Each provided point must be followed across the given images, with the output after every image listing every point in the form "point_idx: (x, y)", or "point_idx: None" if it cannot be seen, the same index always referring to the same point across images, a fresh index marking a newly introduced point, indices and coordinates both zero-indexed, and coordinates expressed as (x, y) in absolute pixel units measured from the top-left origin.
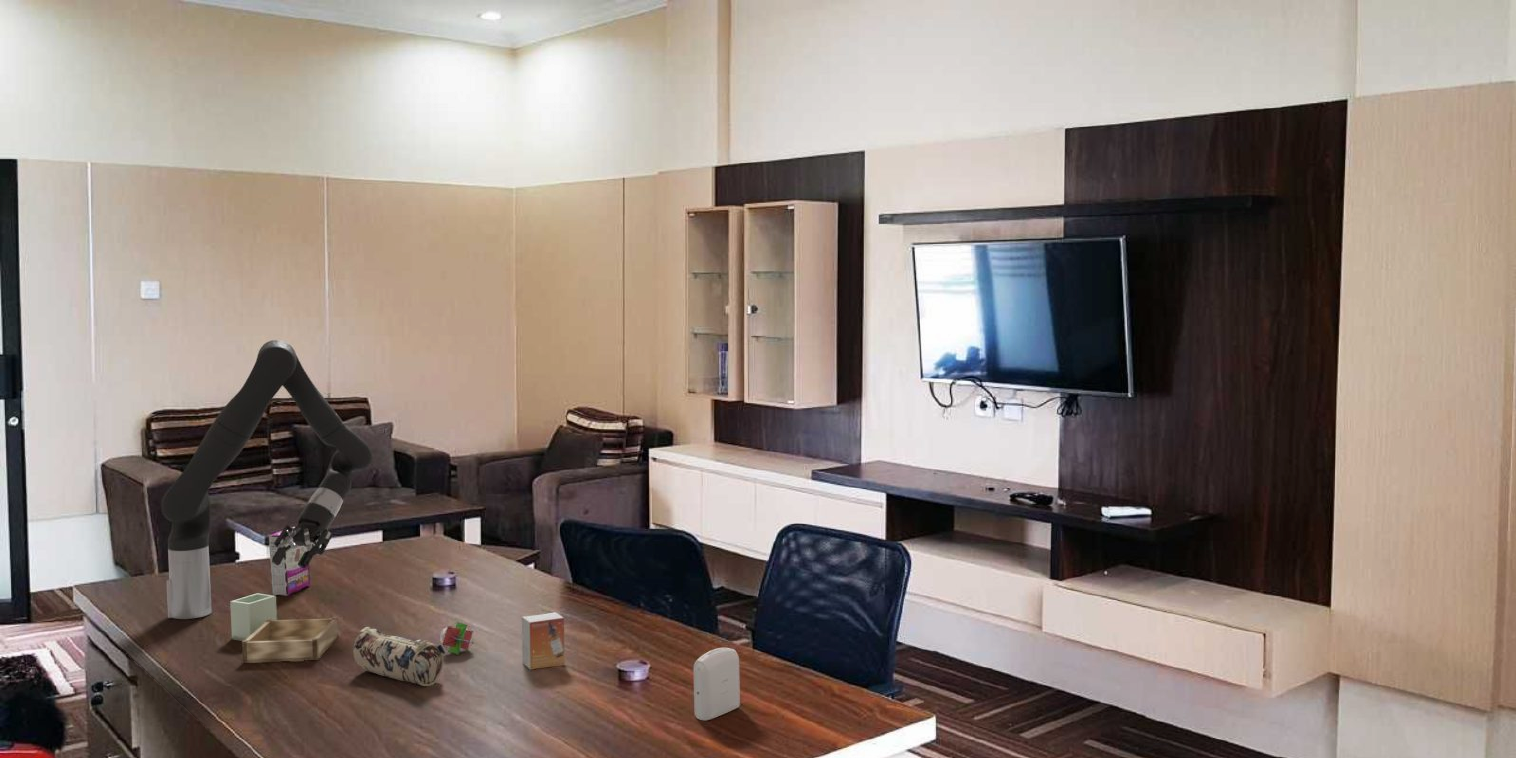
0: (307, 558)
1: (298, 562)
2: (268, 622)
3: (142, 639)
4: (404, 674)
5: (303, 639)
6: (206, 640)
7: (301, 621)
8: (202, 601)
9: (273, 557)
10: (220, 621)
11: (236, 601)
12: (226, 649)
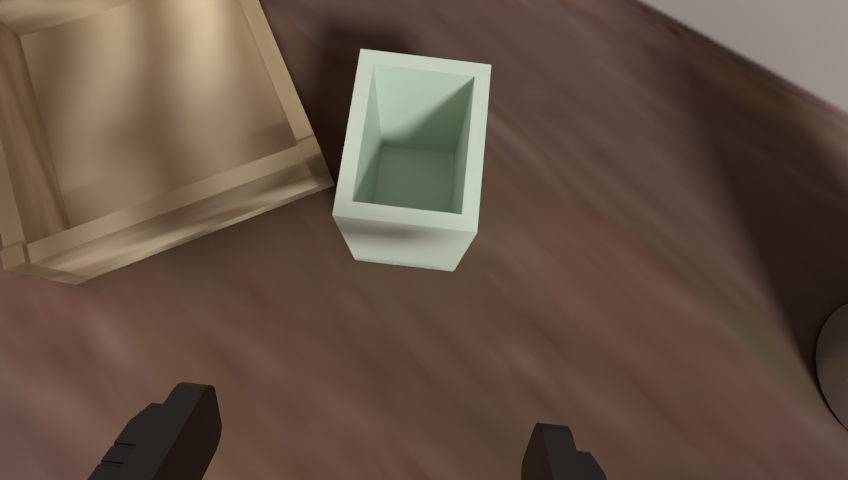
0: (100, 470)
1: (200, 392)
2: (296, 129)
3: (746, 73)
4: None
5: (166, 178)
6: (538, 117)
7: (171, 194)
8: None
9: (577, 456)
10: (695, 330)
11: (458, 70)
12: None
